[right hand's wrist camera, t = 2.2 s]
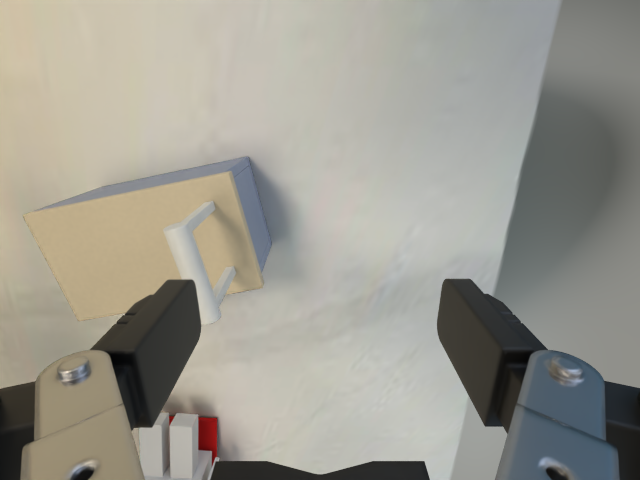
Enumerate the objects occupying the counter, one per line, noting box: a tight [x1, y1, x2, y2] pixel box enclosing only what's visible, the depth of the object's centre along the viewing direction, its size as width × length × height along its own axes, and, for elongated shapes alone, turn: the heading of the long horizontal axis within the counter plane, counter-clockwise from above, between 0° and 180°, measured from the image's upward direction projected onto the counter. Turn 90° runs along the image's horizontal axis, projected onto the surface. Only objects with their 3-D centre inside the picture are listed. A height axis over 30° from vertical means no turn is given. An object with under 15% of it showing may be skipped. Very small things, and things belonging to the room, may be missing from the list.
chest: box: [33, 157, 272, 273], centre depth 33 cm, size 16×10×9 cm, turn 101°
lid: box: [23, 171, 264, 325], centre depth 25 cm, size 16×10×8 cm, turn 101°
